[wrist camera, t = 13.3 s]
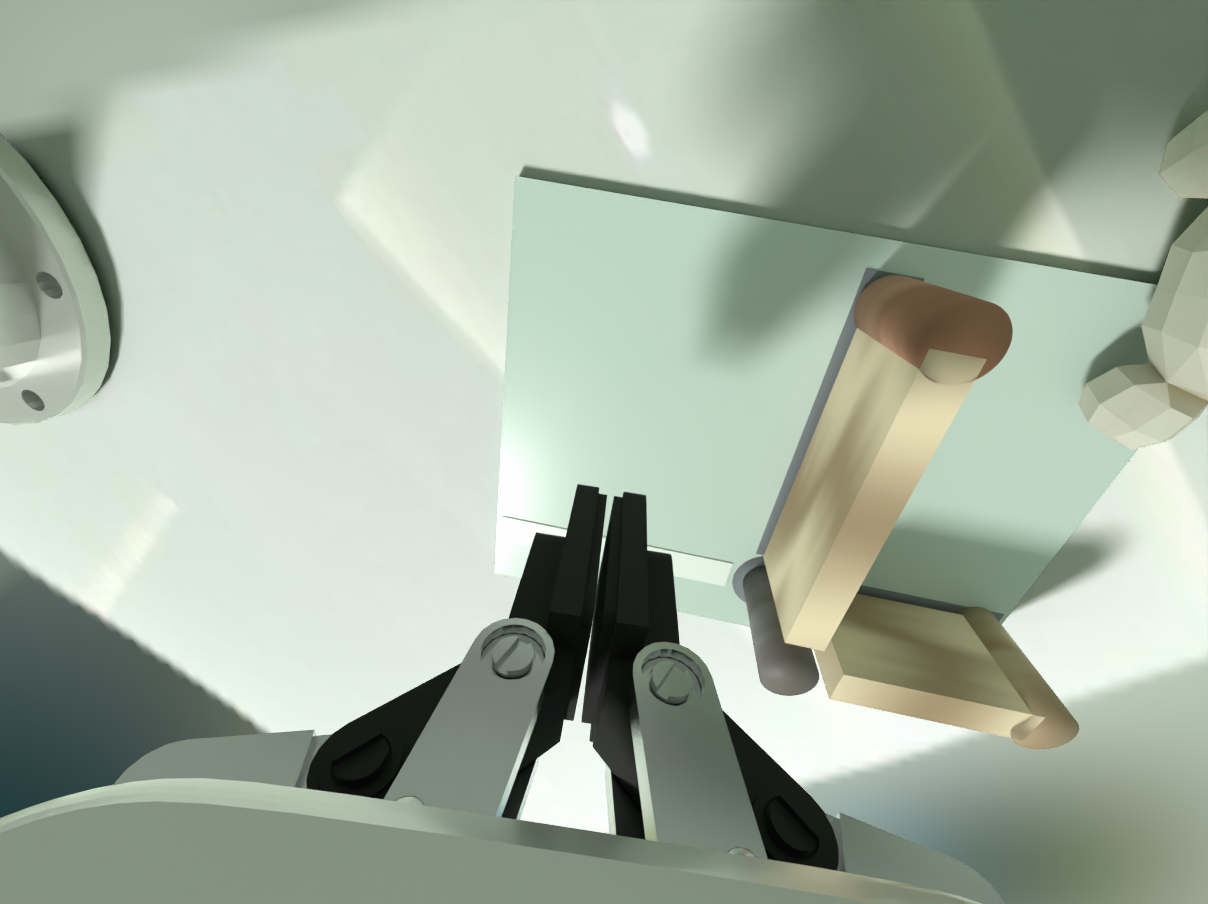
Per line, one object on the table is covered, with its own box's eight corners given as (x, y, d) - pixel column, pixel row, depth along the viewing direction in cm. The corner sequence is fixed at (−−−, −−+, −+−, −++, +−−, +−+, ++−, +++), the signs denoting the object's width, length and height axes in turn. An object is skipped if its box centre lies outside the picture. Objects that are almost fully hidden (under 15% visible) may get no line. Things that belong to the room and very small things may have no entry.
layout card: (496, 568, 21) (493, 573, 21) (518, 176, 14) (514, 175, 13) (960, 665, 20) (965, 672, 20) (1240, 299, 13) (1254, 301, 12)
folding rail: (802, 565, 18) (834, 653, 14) (755, 555, 18) (774, 640, 14) (934, 281, 13) (1031, 309, 10) (869, 269, 13) (940, 292, 10)
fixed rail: (736, 588, 20) (752, 688, 16) (749, 555, 19) (769, 651, 15) (975, 638, 19) (1056, 754, 15) (1000, 606, 18) (1092, 720, 14)
